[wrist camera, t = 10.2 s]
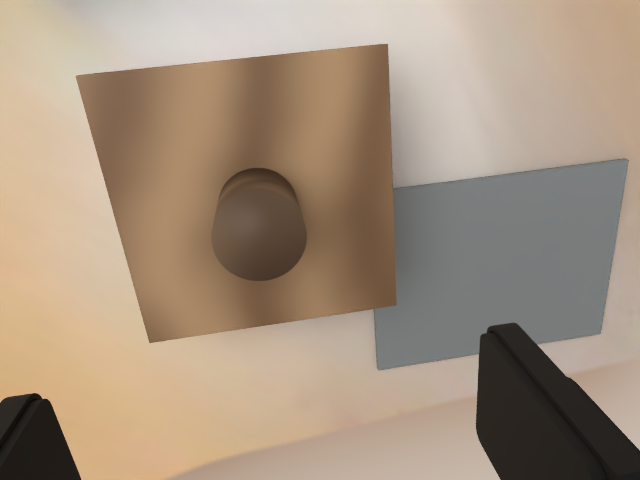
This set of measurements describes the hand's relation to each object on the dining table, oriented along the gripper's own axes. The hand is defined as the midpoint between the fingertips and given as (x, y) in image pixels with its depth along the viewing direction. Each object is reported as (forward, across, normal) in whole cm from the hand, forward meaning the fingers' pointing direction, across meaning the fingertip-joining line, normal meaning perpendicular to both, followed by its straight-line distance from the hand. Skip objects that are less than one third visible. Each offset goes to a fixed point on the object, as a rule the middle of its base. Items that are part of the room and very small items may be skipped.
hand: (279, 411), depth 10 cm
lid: (+16, +1, 0) cm, 16 cm away
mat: (+21, -15, +9) cm, 28 cm away
